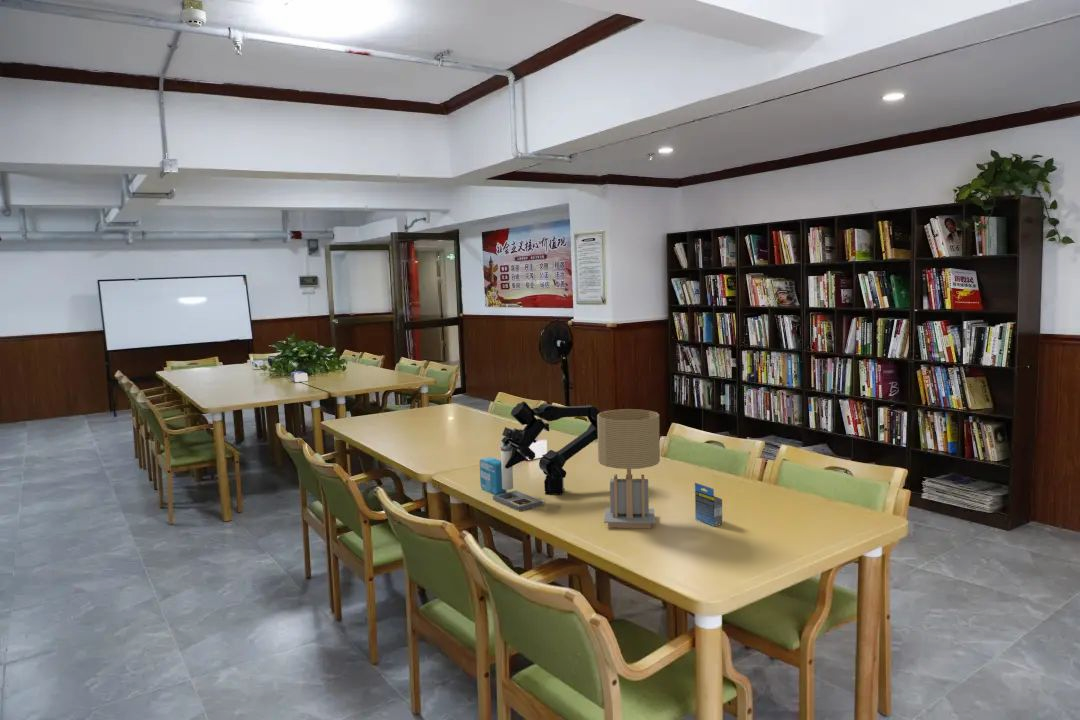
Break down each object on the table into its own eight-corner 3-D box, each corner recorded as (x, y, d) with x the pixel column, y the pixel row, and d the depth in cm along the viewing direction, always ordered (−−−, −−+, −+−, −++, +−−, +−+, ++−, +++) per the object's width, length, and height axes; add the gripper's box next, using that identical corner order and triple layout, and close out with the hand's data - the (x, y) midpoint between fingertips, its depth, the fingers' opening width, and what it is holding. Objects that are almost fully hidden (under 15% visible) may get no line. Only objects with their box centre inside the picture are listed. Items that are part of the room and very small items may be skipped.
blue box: (480, 488, 273) (479, 458, 272) (490, 486, 276) (489, 456, 275) (496, 495, 264) (495, 464, 262) (507, 493, 266) (505, 462, 265)
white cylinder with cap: (514, 486, 259) (512, 446, 257) (512, 489, 255) (510, 448, 253) (503, 486, 260) (502, 445, 258) (501, 489, 256) (499, 448, 254)
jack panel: (515, 494, 264) (515, 490, 264) (542, 505, 251) (542, 500, 250) (493, 499, 259) (492, 495, 258) (519, 511, 245) (518, 506, 245)
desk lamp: (597, 532, 222) (595, 420, 218) (601, 511, 242) (598, 409, 238) (661, 533, 220) (660, 420, 216) (659, 512, 239) (658, 409, 235)
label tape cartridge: (723, 524, 225) (723, 486, 224) (713, 527, 224) (713, 488, 222) (703, 517, 233) (703, 480, 232) (694, 519, 231) (694, 482, 230)
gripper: (505, 415, 265) (478, 447, 261) (526, 423, 248) (497, 458, 244) (525, 433, 269) (499, 466, 265) (547, 442, 252) (519, 477, 249)
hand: (503, 466), depth 256 cm, fingers closed on white cylinder with cap, 4 cm apart
